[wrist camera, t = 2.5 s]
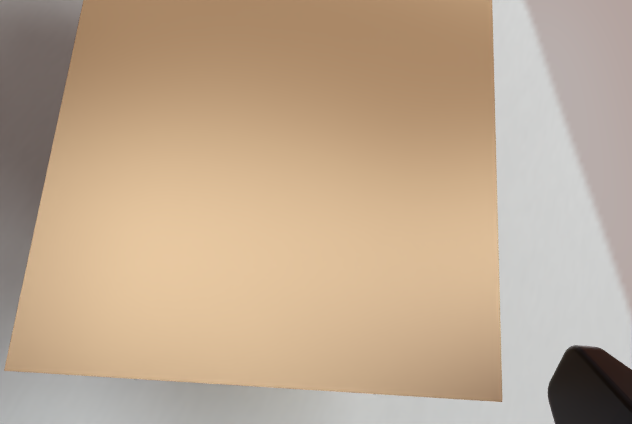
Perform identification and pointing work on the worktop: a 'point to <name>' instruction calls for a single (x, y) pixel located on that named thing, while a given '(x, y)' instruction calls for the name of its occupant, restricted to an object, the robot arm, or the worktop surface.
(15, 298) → the worktop surface
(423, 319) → the oak block
